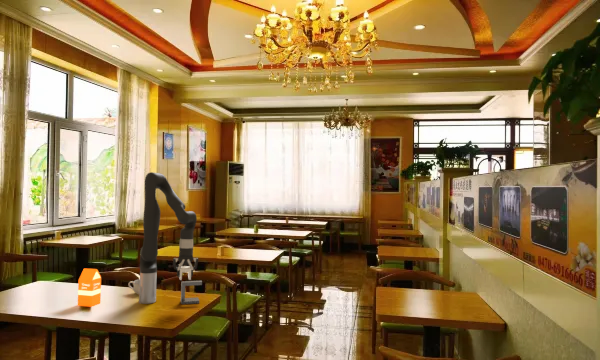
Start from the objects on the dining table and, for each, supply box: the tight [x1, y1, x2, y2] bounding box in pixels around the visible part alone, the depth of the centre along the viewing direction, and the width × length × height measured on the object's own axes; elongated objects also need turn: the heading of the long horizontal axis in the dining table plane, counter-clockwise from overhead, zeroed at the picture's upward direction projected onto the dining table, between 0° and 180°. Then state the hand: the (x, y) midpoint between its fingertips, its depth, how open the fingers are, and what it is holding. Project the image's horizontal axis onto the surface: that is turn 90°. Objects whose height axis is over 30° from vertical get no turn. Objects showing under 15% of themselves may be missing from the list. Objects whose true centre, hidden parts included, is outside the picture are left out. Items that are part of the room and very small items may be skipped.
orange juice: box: [77, 268, 102, 308], centre depth 239 cm, size 8×9×20 cm
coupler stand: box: [180, 280, 203, 305], centre depth 249 cm, size 12×8×12 cm
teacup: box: [127, 278, 140, 295], centre depth 266 cm, size 14×11×8 cm
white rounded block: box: [178, 265, 192, 281], centre depth 239 cm, size 9×6×6 cm
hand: (185, 276), depth 238 cm, fingers closed on white rounded block, 6 cm apart
